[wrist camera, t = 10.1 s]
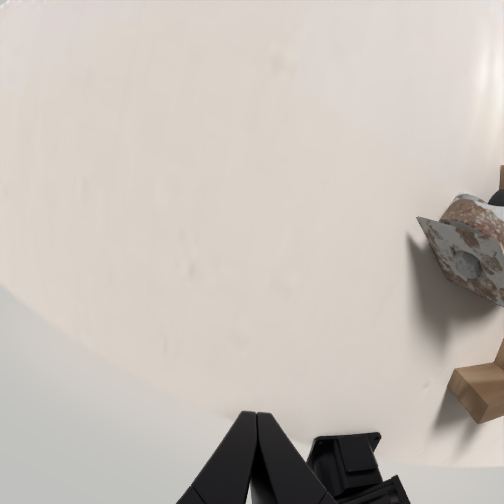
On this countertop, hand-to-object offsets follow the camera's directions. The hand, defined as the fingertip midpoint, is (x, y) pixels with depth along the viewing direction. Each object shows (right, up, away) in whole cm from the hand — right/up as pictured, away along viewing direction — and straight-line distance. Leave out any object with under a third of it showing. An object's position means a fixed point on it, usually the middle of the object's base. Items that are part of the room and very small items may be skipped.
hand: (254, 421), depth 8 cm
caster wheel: (+18, +7, +11) cm, 22 cm away
